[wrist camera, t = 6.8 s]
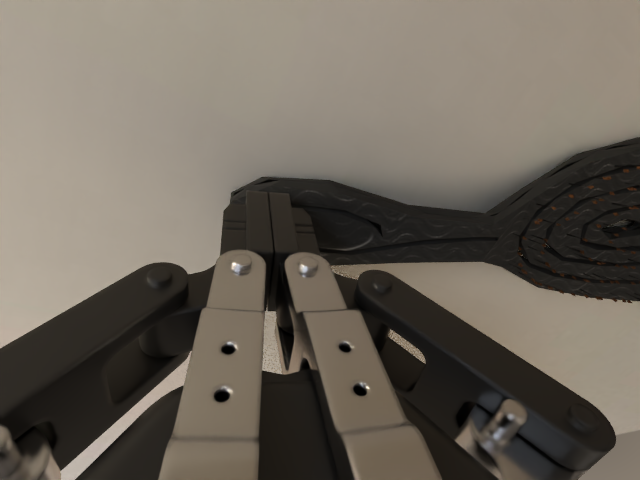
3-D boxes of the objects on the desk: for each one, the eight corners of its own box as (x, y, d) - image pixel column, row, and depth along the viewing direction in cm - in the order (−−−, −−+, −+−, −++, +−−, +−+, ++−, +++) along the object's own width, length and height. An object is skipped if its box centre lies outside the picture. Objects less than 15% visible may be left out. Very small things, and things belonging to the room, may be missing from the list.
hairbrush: (220, 122, 11) (913, 190, 14) (233, 89, 14) (803, 151, 17) (223, 329, 15) (746, 341, 19) (232, 269, 18) (682, 290, 22)
